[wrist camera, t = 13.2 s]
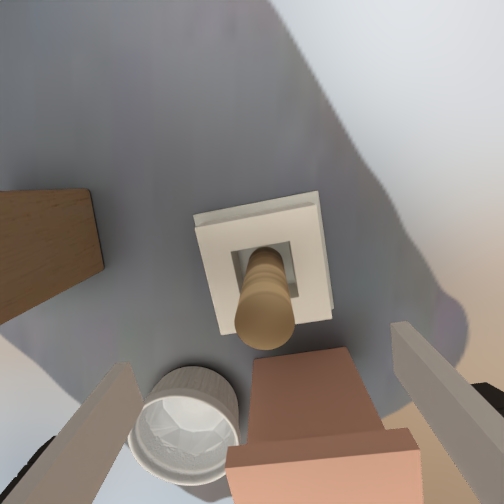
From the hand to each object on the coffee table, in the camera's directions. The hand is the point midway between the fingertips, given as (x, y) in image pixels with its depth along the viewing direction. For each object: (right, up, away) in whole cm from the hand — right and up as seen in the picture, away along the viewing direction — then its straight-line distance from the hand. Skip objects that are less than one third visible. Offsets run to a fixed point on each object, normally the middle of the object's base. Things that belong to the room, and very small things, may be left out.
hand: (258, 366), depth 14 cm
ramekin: (-8, -15, +25) cm, 30 cm away
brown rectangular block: (+5, -6, +22) cm, 23 cm away
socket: (+1, +5, +19) cm, 20 cm away
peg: (+1, +4, +18) cm, 19 cm away
